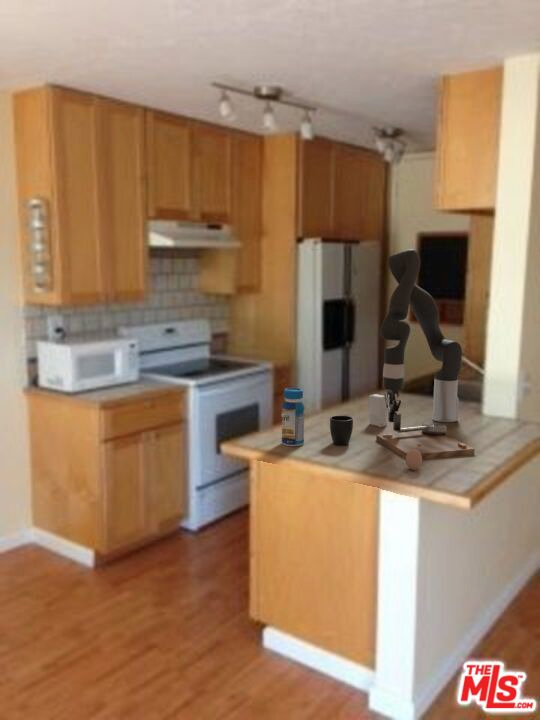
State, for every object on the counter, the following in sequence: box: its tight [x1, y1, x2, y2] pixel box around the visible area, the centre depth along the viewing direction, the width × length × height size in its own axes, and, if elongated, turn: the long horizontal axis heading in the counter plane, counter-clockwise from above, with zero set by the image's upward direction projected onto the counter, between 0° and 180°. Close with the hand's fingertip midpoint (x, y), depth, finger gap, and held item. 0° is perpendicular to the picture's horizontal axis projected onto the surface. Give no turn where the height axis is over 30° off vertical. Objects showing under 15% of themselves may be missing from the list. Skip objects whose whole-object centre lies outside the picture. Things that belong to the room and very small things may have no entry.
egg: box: [405, 449, 423, 471], centre depth 214 cm, size 5×5×7 cm
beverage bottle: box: [280, 387, 306, 447], centre depth 241 cm, size 8×8×20 cm
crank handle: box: [392, 412, 448, 435], centre depth 248 cm, size 22×9×8 cm, turn 111°
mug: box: [329, 414, 354, 447], centre depth 244 cm, size 8×12×10 cm
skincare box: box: [368, 393, 388, 428], centre depth 268 cm, size 6×4×12 cm
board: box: [375, 430, 476, 460], centre depth 239 cm, size 25×25×3 cm
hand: (391, 421), depth 248 cm, fingers closed
